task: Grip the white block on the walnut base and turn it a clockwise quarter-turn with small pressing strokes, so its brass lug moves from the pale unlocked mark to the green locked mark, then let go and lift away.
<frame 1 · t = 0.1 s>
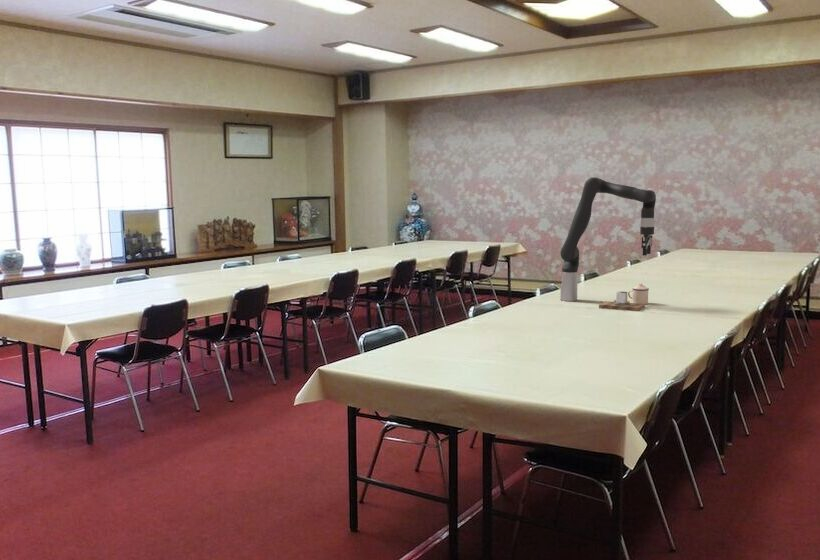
hand: (646, 254, 417), 29 cm above the table, fingers open, 8 cm apart
walnut base: (621, 307, 415), on the table
white block: (621, 297, 414), point 6 cm above the table, hinge at 0.0°
teacup with lid: (637, 303, 429), on the table
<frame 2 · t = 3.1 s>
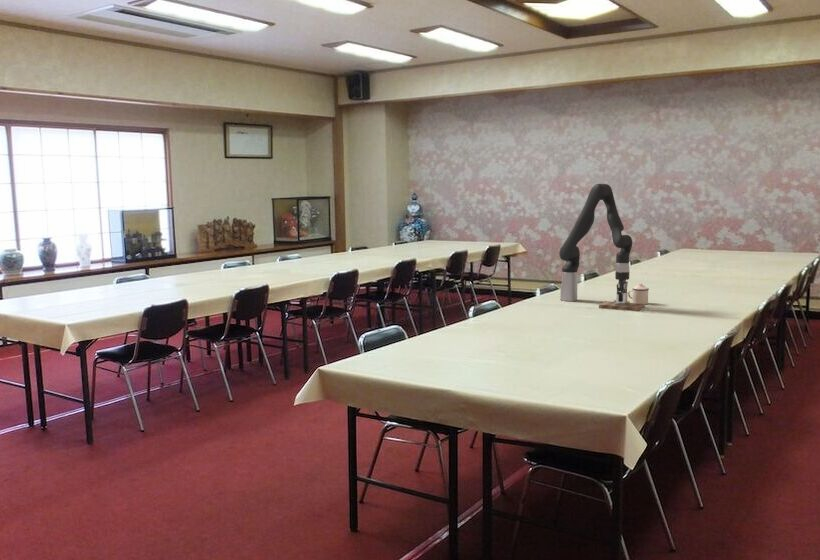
hand: (621, 300, 414), 4 cm above the table, fingers closed on white block, 5 cm apart
white block: (621, 297, 414), point 6 cm above the table, hinge at -0.1°, touching gripper
everything else where it was.
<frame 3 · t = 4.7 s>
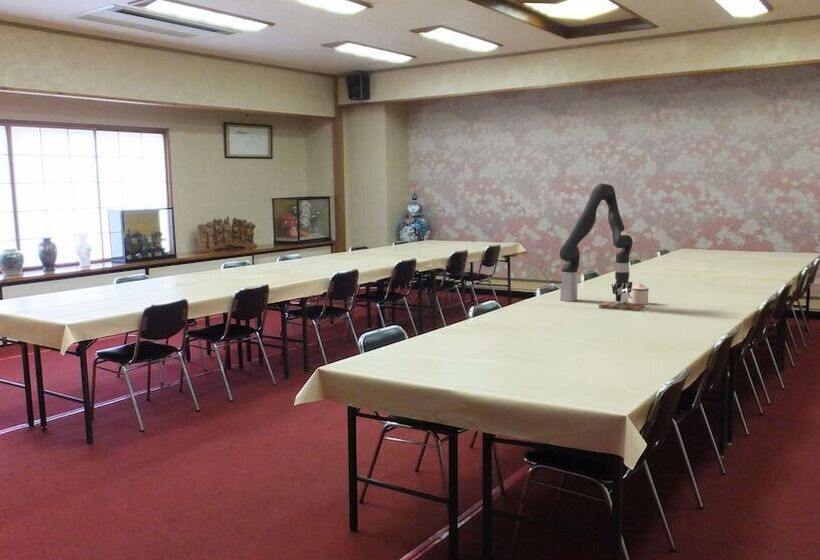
hand: (621, 300, 414), 4 cm above the table, fingers closed on white block, 5 cm apart
white block: (621, 297, 414), point 6 cm above the table, hinge at 24.9°, touching gripper
everything else where it was.
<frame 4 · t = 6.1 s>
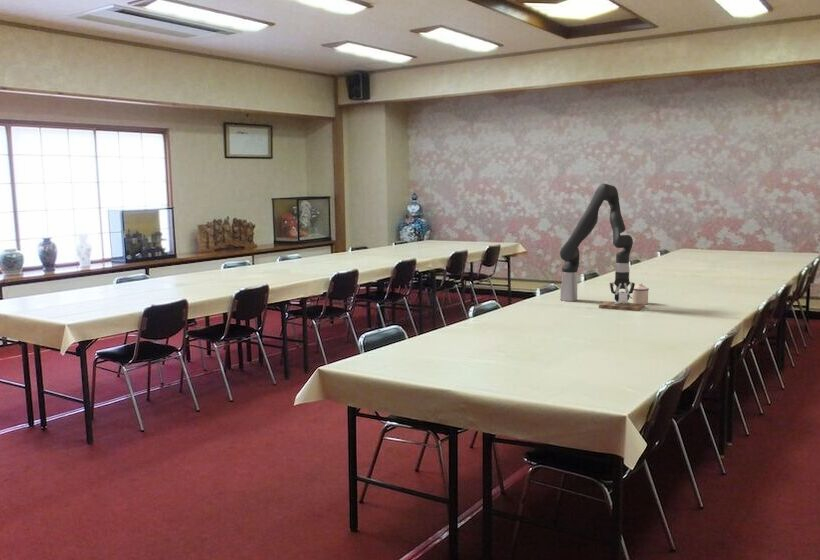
hand: (621, 300, 414), 4 cm above the table, fingers closed on white block, 5 cm apart
white block: (621, 297, 414), point 6 cm above the table, hinge at 58.9°, touching gripper
everything else where it was.
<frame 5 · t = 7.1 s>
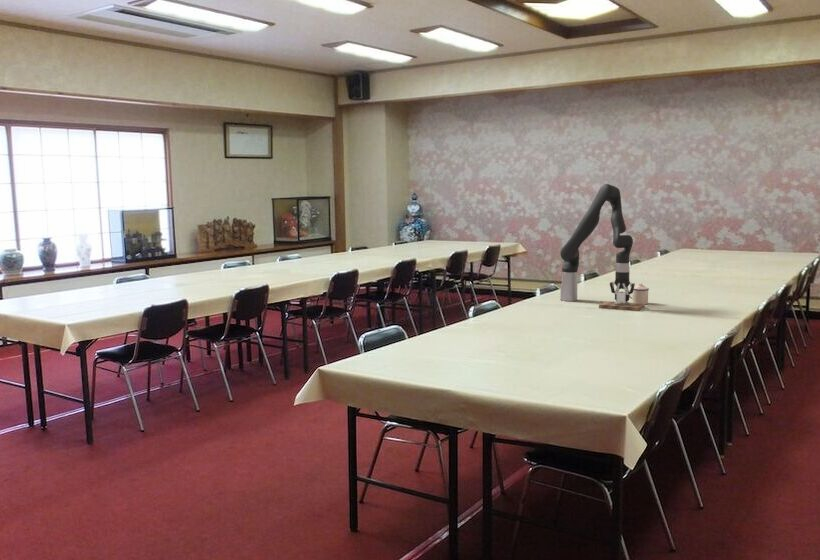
hand: (621, 300, 415), 4 cm above the table, fingers closed on white block, 5 cm apart
white block: (621, 297, 414), point 6 cm above the table, hinge at 87.1°, touching gripper
everything else where it was.
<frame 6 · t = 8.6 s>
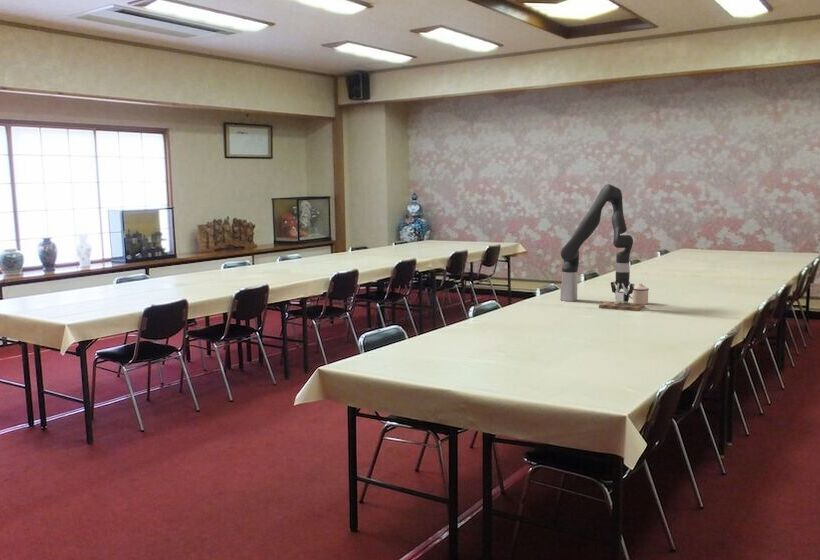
hand: (622, 300, 415), 4 cm above the table, fingers closed on white block, 5 cm apart
white block: (621, 297, 414), point 6 cm above the table, hinge at 106.0°, touching gripper
everything else where it was.
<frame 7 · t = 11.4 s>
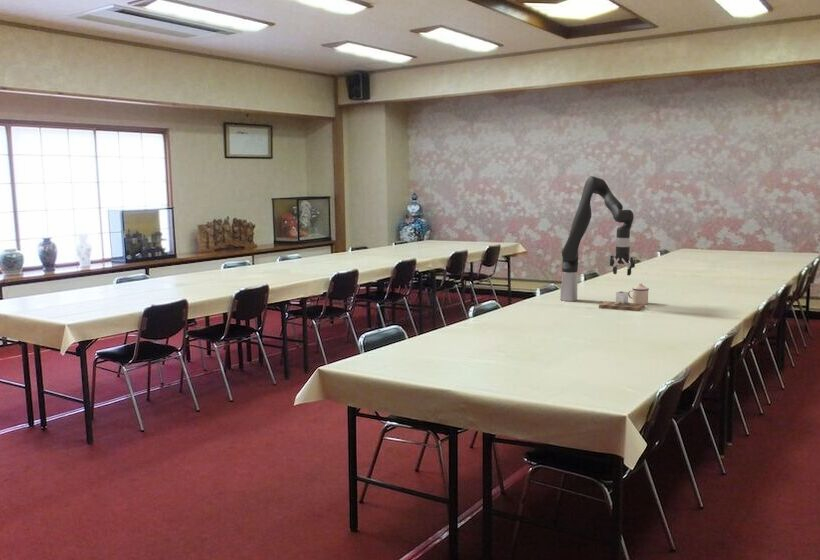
hand: (621, 274, 412), 19 cm above the table, fingers open, 8 cm apart
white block: (621, 297, 414), point 6 cm above the table, hinge at 105.5°
everything else where it was.
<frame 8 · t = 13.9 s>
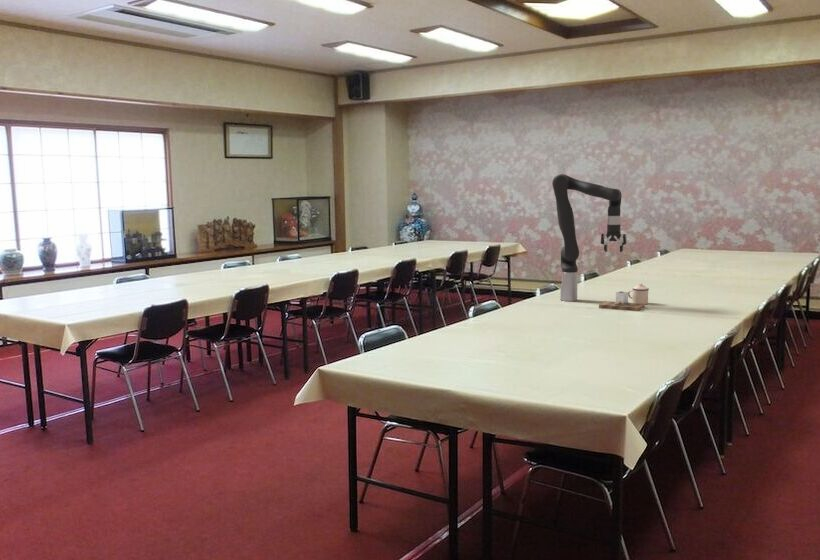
hand: (613, 251, 426), 30 cm above the table, fingers open, 8 cm apart
nothing on the table moved.
at the end: white block at +105° (first picture: +0°); the gripper is holding nothing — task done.
